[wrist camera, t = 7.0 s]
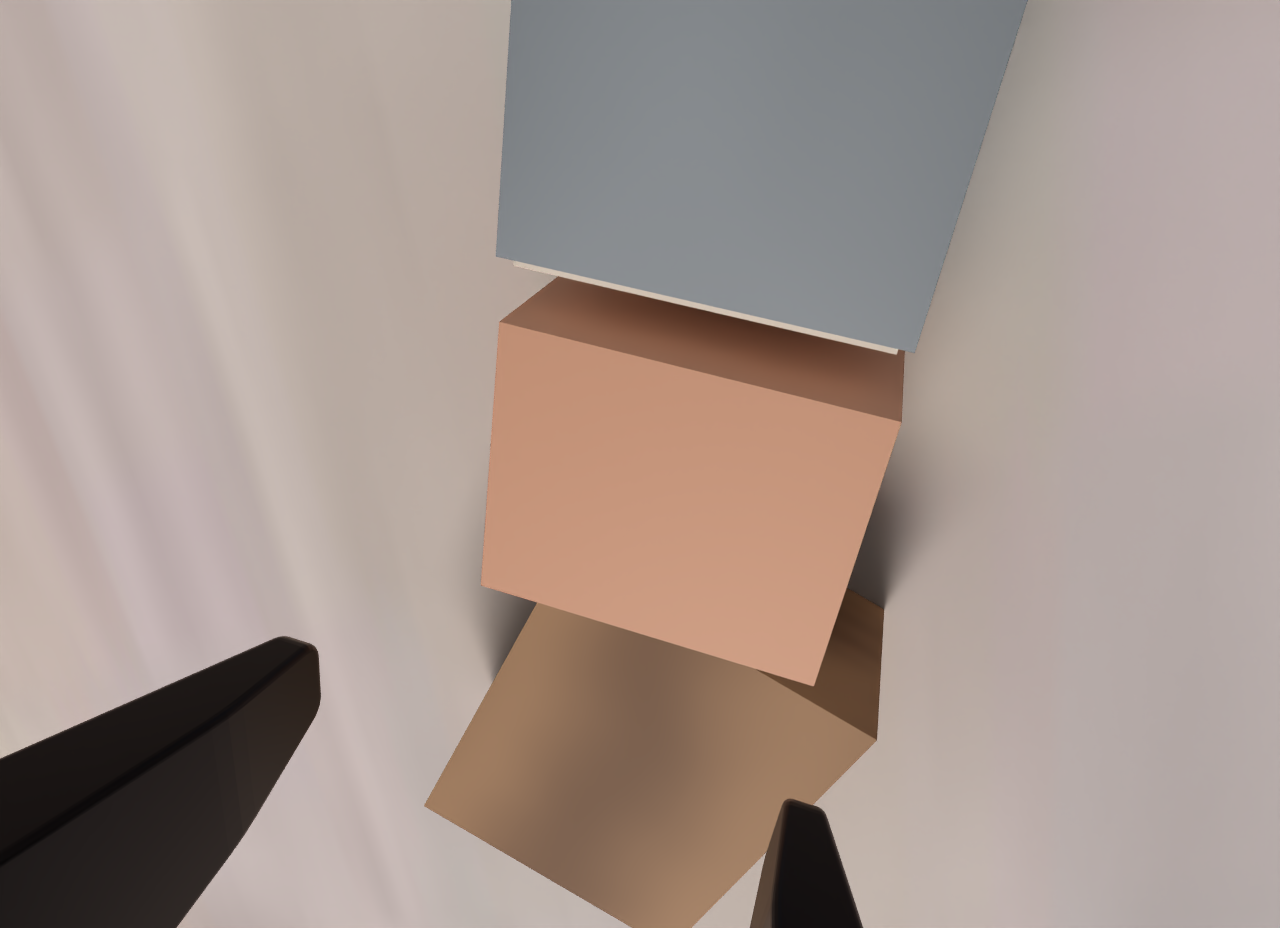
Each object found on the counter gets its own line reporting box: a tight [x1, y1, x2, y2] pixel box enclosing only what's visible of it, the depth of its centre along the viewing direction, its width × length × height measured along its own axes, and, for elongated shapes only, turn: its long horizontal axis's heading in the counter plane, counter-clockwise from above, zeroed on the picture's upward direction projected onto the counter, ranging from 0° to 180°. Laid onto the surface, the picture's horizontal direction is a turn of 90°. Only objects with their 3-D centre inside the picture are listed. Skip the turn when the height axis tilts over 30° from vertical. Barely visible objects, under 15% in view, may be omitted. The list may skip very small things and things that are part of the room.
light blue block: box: [496, 0, 1028, 355], centre depth 14 cm, size 6×5×6 cm
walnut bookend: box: [424, 588, 884, 928], centre depth 21 cm, size 7×9×4 cm
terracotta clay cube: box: [481, 276, 905, 686], centre depth 17 cm, size 6×5×6 cm
